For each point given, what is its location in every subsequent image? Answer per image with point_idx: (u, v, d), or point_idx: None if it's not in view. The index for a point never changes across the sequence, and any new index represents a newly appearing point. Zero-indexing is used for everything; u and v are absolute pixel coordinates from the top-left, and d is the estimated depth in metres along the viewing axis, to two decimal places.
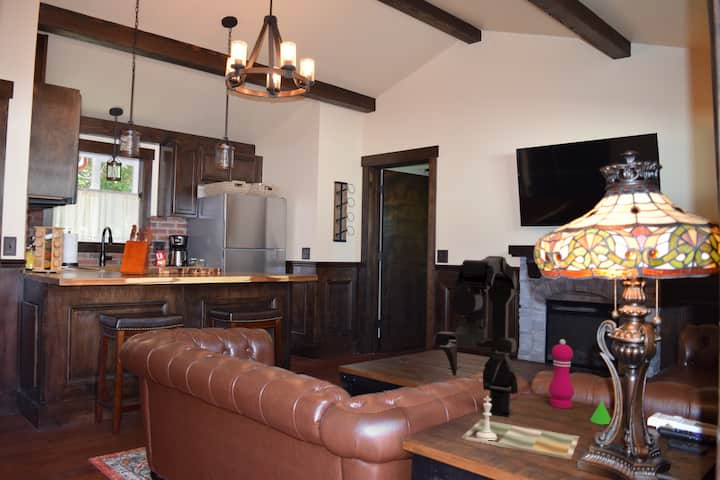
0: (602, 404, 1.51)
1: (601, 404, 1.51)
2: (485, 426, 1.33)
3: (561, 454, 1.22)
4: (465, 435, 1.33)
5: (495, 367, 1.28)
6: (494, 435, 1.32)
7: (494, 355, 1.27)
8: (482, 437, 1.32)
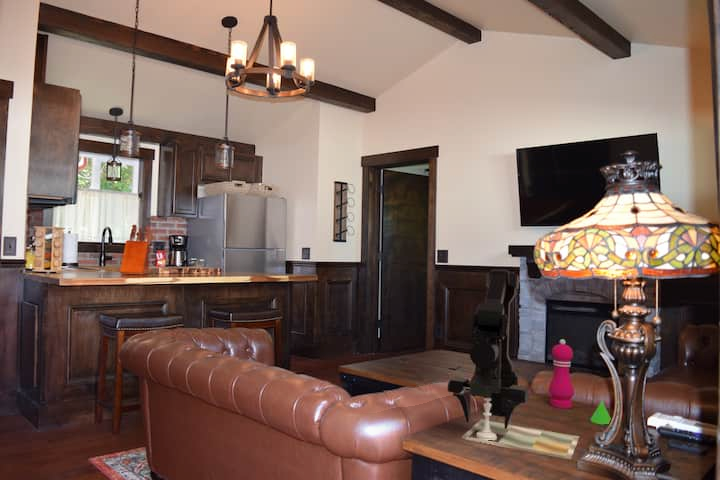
0: (602, 404, 1.51)
1: (601, 404, 1.51)
2: (485, 426, 1.33)
3: (561, 454, 1.22)
4: (465, 435, 1.33)
5: (508, 415, 1.30)
6: (494, 435, 1.32)
7: (508, 404, 1.29)
8: (482, 437, 1.32)
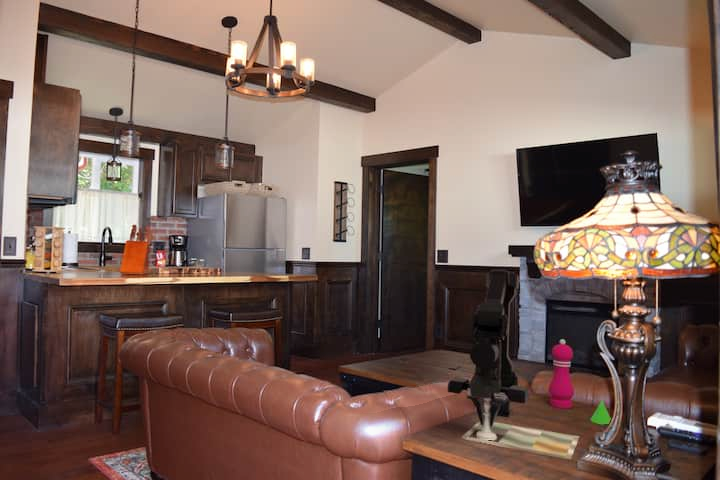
0: (602, 404, 1.51)
1: (601, 404, 1.51)
2: (485, 426, 1.33)
3: (561, 454, 1.22)
4: (465, 435, 1.33)
5: (494, 413, 1.32)
6: (494, 435, 1.32)
7: (493, 402, 1.30)
8: (482, 437, 1.32)
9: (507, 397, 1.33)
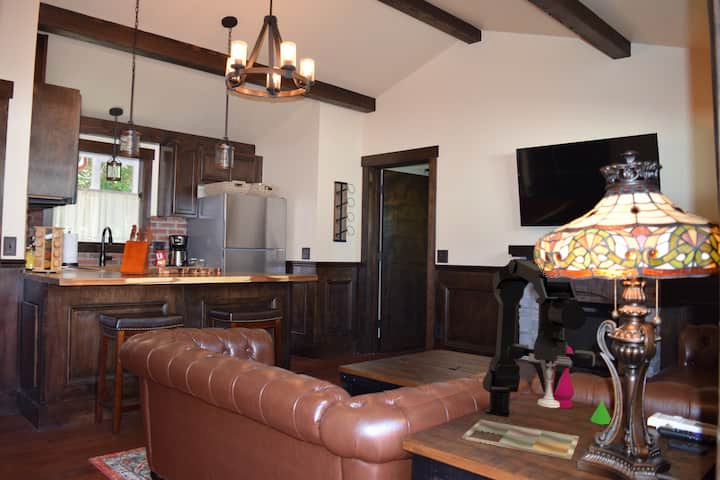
0: (602, 404, 1.51)
1: (601, 404, 1.51)
2: (548, 393, 1.26)
3: (561, 454, 1.22)
4: (465, 435, 1.33)
5: (557, 379, 1.25)
6: (557, 402, 1.26)
7: (557, 367, 1.24)
8: (545, 404, 1.25)
9: None
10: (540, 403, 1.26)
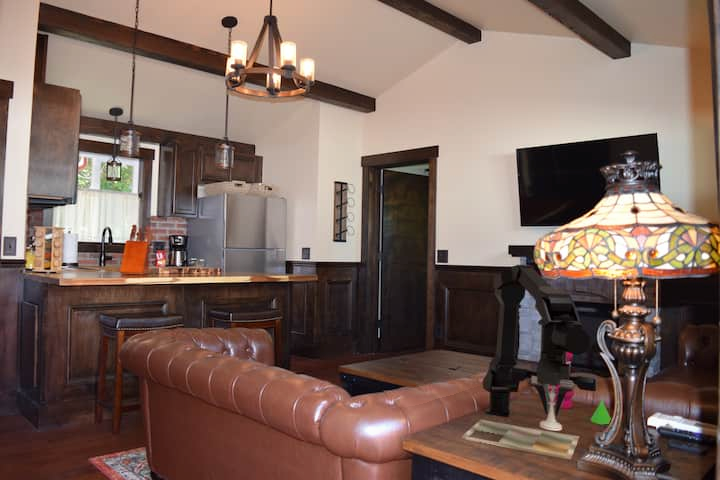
0: (602, 404, 1.51)
1: (601, 404, 1.51)
2: (550, 415, 1.26)
3: (561, 454, 1.22)
4: (465, 435, 1.33)
5: (560, 402, 1.25)
6: (559, 425, 1.26)
7: (560, 390, 1.24)
8: (547, 427, 1.25)
9: (573, 385, 1.27)
10: (542, 426, 1.26)
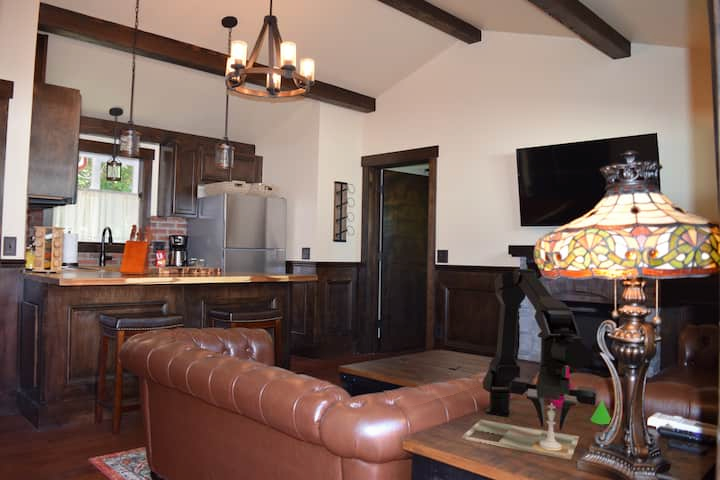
0: (602, 404, 1.51)
1: (601, 404, 1.51)
2: (549, 435, 1.26)
3: (561, 454, 1.22)
4: (465, 435, 1.33)
5: (564, 416, 1.24)
6: (559, 445, 1.25)
7: (564, 404, 1.23)
8: (547, 447, 1.25)
9: None
10: (542, 446, 1.26)
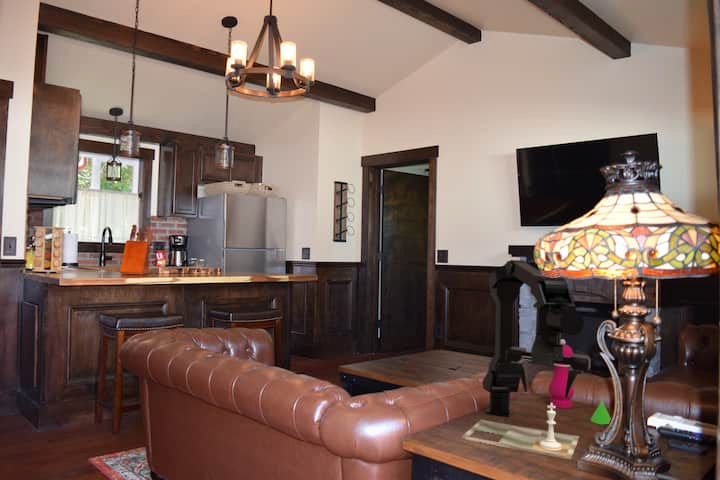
0: (602, 404, 1.51)
1: (601, 404, 1.51)
2: (549, 435, 1.26)
3: (561, 454, 1.22)
4: (465, 435, 1.33)
5: (570, 384, 1.27)
6: (559, 445, 1.25)
7: (570, 373, 1.26)
8: (547, 447, 1.25)
9: None
10: (542, 446, 1.26)
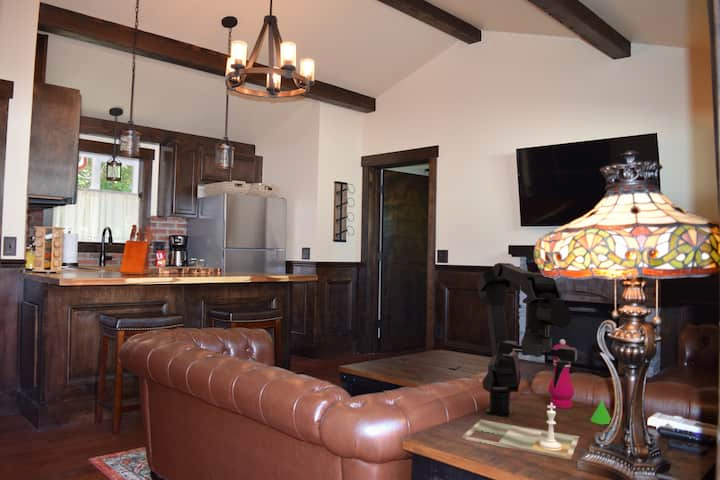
0: (602, 404, 1.51)
1: (601, 404, 1.51)
2: (549, 435, 1.26)
3: (561, 454, 1.22)
4: (465, 435, 1.33)
5: (558, 375, 1.35)
6: (559, 445, 1.25)
7: (557, 363, 1.34)
8: (547, 447, 1.25)
9: None
10: (542, 446, 1.26)
